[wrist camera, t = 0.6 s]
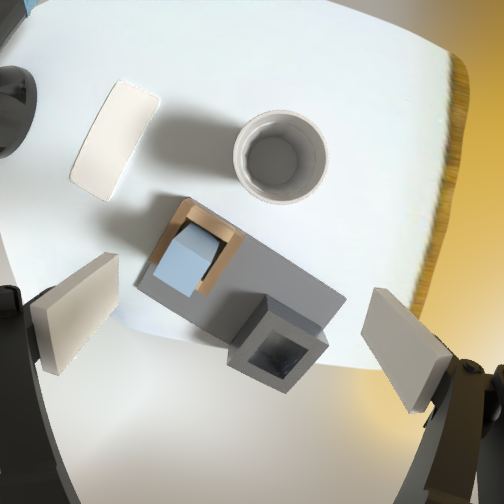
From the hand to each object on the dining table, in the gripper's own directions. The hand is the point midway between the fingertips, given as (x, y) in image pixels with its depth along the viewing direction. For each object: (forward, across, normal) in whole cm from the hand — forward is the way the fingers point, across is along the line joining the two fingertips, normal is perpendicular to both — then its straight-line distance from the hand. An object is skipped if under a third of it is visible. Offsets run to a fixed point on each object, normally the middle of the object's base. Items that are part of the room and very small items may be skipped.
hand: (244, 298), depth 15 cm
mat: (+24, +1, -10) cm, 26 cm away
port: (+23, +6, -15) cm, 28 cm away
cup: (+24, +2, +7) cm, 25 cm away
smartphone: (+25, -19, +8) cm, 32 cm away
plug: (+23, -5, -4) cm, 23 cm away
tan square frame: (+23, -5, -4) cm, 24 cm away
